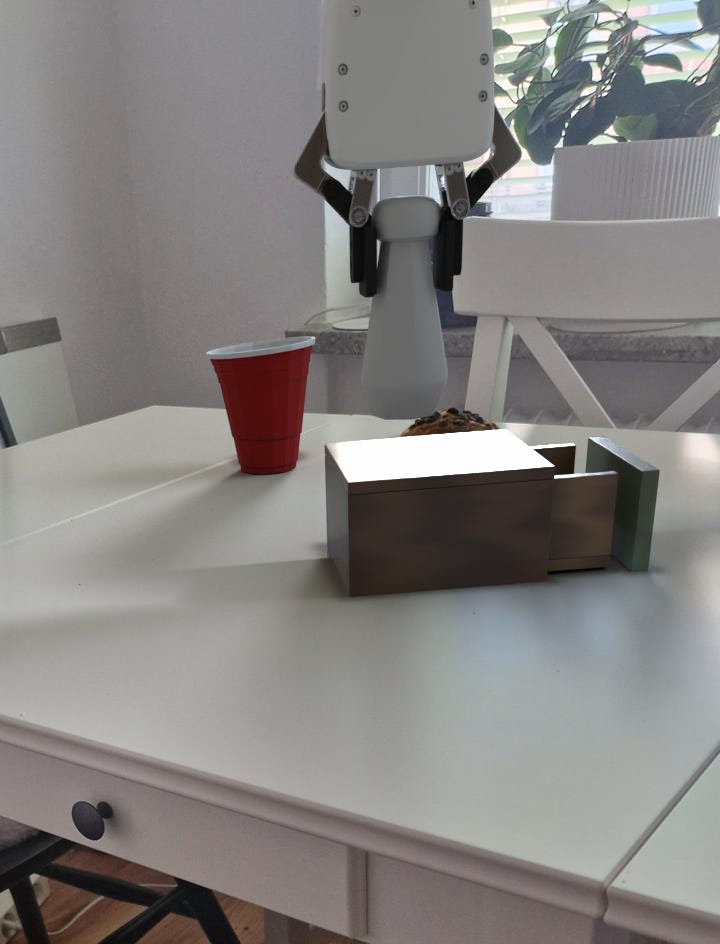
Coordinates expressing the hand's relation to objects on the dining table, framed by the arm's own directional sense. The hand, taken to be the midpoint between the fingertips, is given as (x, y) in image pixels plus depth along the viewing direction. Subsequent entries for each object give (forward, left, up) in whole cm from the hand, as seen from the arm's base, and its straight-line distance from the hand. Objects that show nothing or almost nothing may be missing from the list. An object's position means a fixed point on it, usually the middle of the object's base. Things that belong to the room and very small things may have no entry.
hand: (405, 289), depth 75 cm
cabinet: (-2, 0, -19) cm, 19 cm away
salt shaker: (0, 0, -8) cm, 8 cm away
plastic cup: (+7, -39, -19) cm, 44 cm away
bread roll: (-12, -40, -19) cm, 46 cm away
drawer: (-10, 0, -18) cm, 21 cm away
